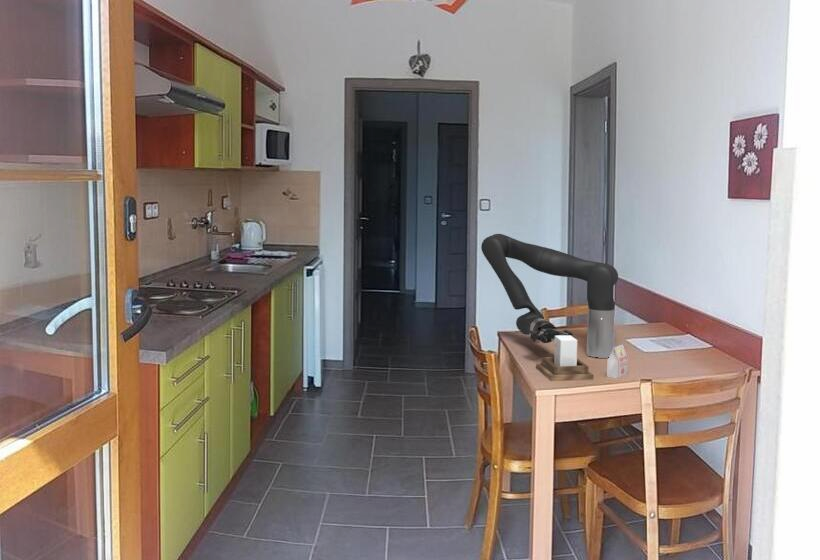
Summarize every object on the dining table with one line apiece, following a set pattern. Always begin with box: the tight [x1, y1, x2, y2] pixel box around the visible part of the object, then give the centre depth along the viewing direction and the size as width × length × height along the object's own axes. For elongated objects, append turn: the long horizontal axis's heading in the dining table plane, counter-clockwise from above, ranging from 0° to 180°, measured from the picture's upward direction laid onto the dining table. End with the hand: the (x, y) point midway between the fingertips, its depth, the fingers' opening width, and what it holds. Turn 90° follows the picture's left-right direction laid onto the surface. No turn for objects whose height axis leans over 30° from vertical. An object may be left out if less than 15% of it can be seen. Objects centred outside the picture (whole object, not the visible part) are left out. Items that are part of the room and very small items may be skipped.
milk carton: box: [606, 344, 628, 379], centre depth 235 cm, size 4×7×10 cm, turn 139°
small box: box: [553, 335, 578, 366], centre depth 238 cm, size 8×6×10 cm
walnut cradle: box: [535, 356, 595, 382], centre depth 238 cm, size 14×16×4 cm
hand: (557, 340), depth 245 cm, fingers open, 8 cm apart
